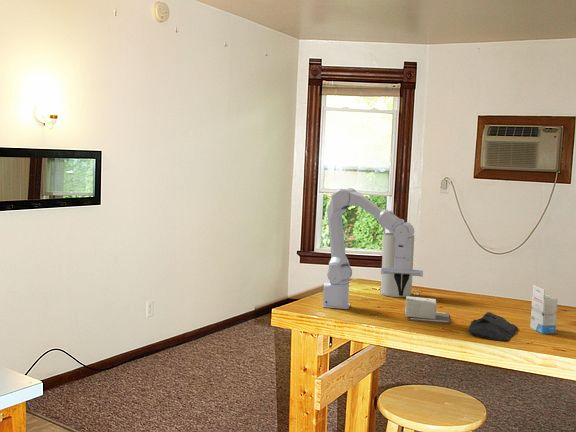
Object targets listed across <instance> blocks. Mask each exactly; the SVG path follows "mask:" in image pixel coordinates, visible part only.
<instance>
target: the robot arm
mask: <svg viewBox="0 0 576 432" xmlns="http://www.w3.org/2000/svg"><path fill="white" fill-rule="evenodd" d="M330 197H331V198H330V199H331V200H330V202H329V205H328V206H327V209H326V213H327V224H328V235H329V246H330V247H329V248H330V255H331V258H330V260H329V262H328V270H327V272H326V277H327V279H328V281H327V282H324V283H323V292H322V293H323V294H322V295H323V296H322V308H328V309H340V310H341V309H342V310H349V308H350V307H351V303H350V302H349V295H350V293H349V291H350V279H351V277H352V276H353V269H352V267H351V265H350V261H349V259H348V258H347V255H346V246H345V245H346V244H345V235H344V222H343V214H344V213H345V212H346V211H347V209H349V208H350V207H359V208H361V209H362V210H364V211H366V212H367V213H369V214H371V216H374V217H375V218H376V219H377V223H378V224H379V225H380V226H381V227H383V228H384V229H385V230H387V231H389V233H393V235H394V237H395V238H396V241H395V259H394V268H382V267H381V271H380V275H382V274H394V278H395V281H396V283H397V287H398V291H399V296H403V292H404V288H405V286H406V283H407V281H408V280H409V276H412V277H421V278H423V277H424V270H423V269H422V270H421V269H420V270H419V269H410V267H411V247H412V245H411V243H412V238H411V237H412V236H413V235H414V236H415V228H414V226H413V225H412V224H411V223H410V222H407V221H406V222H405V219H403V218H400V217H398V216H397V215H396V214H394V212H395V211H393V210H389V209H385V210H382V209H381V208H380V207H379V206H377V205H376V204H374V202H373V201H371V200H370V199H368V198H367V197H366V196H365V195H364V194H362V192H359V191H357V190H356V189H355V188H351V187H350V188H338V189H337V190H335V191H334V192H333V193H332V194H331V195H330ZM404 273H407V274H404ZM401 275H402V289H401Z"/></svg>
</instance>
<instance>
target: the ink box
mask: <svg viewBox="0 0 576 432" xmlns="http://www.w3.org/2000/svg"><path fill="white" fill-rule="evenodd" d="M531 295H532V296H531V310H530V311H531V312H530V313H531V314H530V326H529V327H530V328H531V329H532V330H534V331H536V332H538V333H539V334H542V335H545V334H546V335H553V334H554V335H555V334H556V331H557V314H558V313H557V311H558V302H559V301H558V300H559V299H558V298H556V297H553V296H551V295H548V294H546V289H544V288H542V287H539V286H537V285H535V284H533V285H532V294H531Z"/></svg>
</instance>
